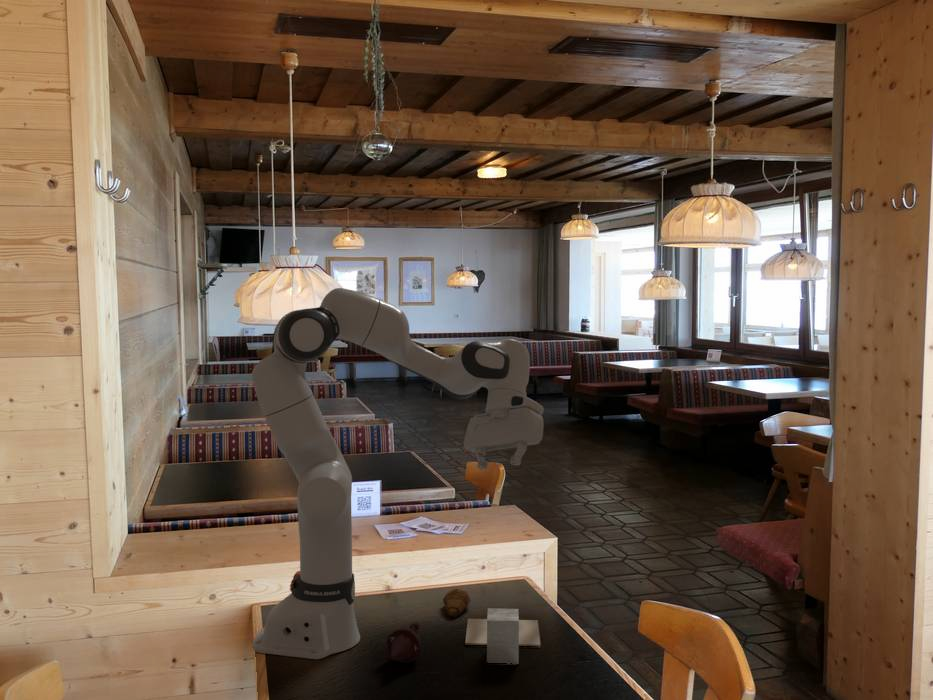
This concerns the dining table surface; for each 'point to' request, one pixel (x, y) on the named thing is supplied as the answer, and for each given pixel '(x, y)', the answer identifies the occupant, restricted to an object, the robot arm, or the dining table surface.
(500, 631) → the cover
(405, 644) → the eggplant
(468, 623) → the board
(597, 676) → the dining table surface
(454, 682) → the dining table surface
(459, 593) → the croissant
